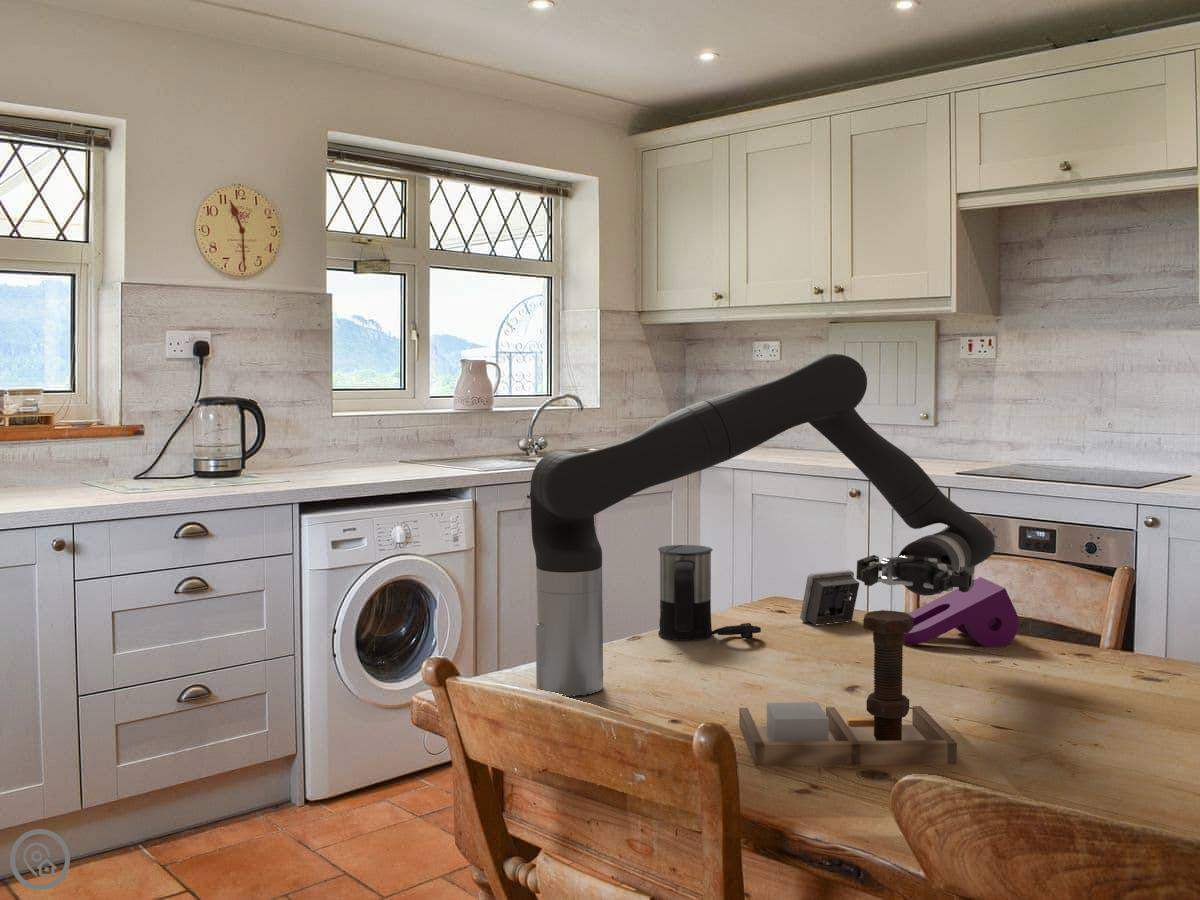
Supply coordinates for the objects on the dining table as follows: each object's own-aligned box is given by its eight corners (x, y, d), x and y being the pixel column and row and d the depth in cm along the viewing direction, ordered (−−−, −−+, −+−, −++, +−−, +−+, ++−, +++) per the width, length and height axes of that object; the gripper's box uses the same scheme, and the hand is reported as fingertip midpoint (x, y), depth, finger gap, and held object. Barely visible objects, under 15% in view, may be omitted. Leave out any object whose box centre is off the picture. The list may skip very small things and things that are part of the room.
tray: (755, 776, 117) (755, 745, 116) (738, 733, 130) (738, 705, 130) (956, 774, 117) (956, 743, 116) (918, 732, 130) (918, 704, 130)
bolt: (905, 735, 126) (906, 609, 125) (919, 750, 121) (921, 619, 120) (856, 736, 126) (857, 610, 124) (868, 751, 121) (869, 620, 119)
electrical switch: (842, 616, 192) (846, 566, 191) (860, 625, 188) (864, 574, 186) (798, 622, 188) (801, 571, 187) (815, 631, 184) (819, 579, 182)
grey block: (775, 754, 120) (775, 719, 120) (766, 735, 126) (766, 702, 126) (828, 753, 120) (828, 718, 120) (817, 735, 126) (817, 702, 126)
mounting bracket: (926, 685, 170) (1026, 634, 171) (904, 639, 169) (1005, 588, 170) (906, 668, 180) (1000, 620, 180) (885, 624, 179) (980, 576, 179)
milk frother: (652, 630, 183) (651, 544, 182) (740, 625, 186) (740, 541, 185) (673, 651, 169) (673, 558, 168) (768, 645, 172) (768, 554, 171)
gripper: (881, 531, 150) (846, 546, 136) (987, 541, 143) (961, 557, 129) (879, 584, 150) (844, 604, 136) (984, 596, 143) (959, 618, 129)
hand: (901, 581), depth 133 cm, fingers open, 8 cm apart
